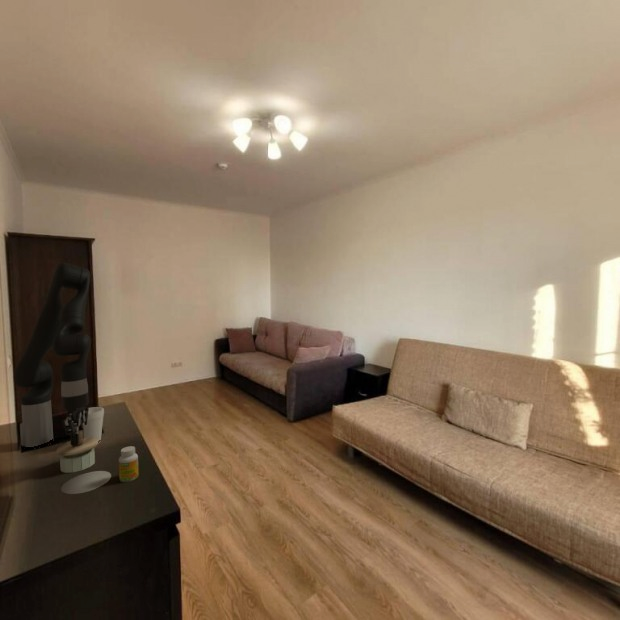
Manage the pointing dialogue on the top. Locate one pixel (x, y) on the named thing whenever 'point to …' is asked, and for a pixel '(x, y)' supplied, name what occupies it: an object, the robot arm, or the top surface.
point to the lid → (77, 446)
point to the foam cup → (94, 423)
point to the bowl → (77, 461)
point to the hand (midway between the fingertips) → (77, 442)
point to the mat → (86, 482)
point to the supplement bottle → (128, 464)
